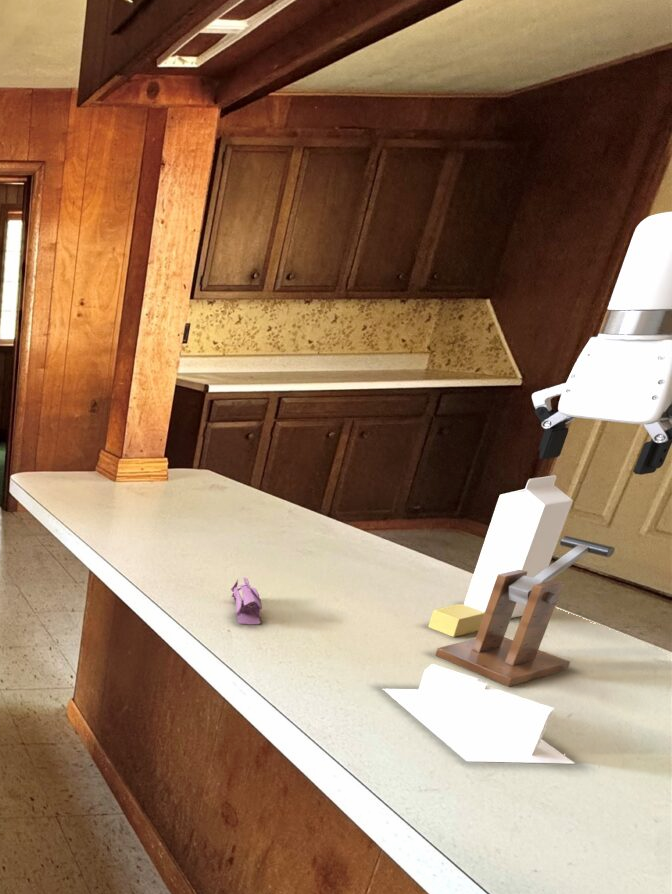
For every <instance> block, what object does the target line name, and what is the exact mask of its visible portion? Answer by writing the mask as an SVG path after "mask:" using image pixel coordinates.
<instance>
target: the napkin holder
mask: <svg viewBox="0 0 672 894" xmlns="http://www.w3.org/2000/svg"><path fill="white" fill-rule="evenodd" d="M382 690H383V691H384V692H385V693H386V694H387V695H389V696H390V698H392V699H393V700H394V701H396V702H397V703H398V704H399V705H400V706H401V707H403V708H404V709H405V710H406V711H407V712H408V713H410V714H411V715H412V716H413V717H414V718H415V719H417V720H418V721H419V722H420V723H421V724H422V725H424V727H426V728H427V729H428V730H430V731H431V732H432V733H433V734H434V735H435V736H436V737H438V738H439V739H440V740H441V741H442V742H443V743H445V744H446V745H447V746H448V747H449V748H450V749H452V750H453V751H454V752H455V753H456V754H458V755H459V756H460V757H461V758H462V760H464V761H466V762H478V763H479V762H484V763H490V762H491V763H527V764H528V763H529V764H531V763H532V764H533V763H534V764H573V765H574V764H576V762H574V761H573V760H571V759H570V758H569V757H567V756H566V753H564V754H563V753H561V752H560V751H559V750H557V749H556V748H554V747H553V746H552V745H551V744H549V743H547V741H545V740H543V736H544V734H545V732H546V728H547V727H548V724H549V722H550V719H551V717H552V715H553V713H554V710H555V707H552V706H550V705H547V704H543V703H541V702H537V701H534V700H531V699H528V698H526V697H522V696H520V695H516V694H513V693H510V692H508V691H504V690H501V689H498V688H495V687H492V686H489V685H488V683H486V682H483V681H479V678H477V677H474V676H471V675H468V674H465V673H462V672H459V671H456V670H453V669H451V668H447V667H444V666H440V665H438V664H435V663H431V664H430V665H429V666H427V667H426V668H425V669H424V670H423V674H422V677H421V680H420V684H419V687H418V688H382Z"/></svg>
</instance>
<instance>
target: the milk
mask: <svg viewBox="0 0 672 894" xmlns="http://www.w3.org/2000/svg"><path fill="white" fill-rule="evenodd" d="M556 481H557V475H555V474H553V475H548V476H542V477H533V478H528V480H527V482H526V485H525V488H523V489H519V490H515V491H510V492H506V493H502V494H499V497H498V499H497V502H496V505H495V508H494V511H493V514H492V517H491V521H490V523H489V527H488V528H487V529H488V530H487V533H486V535H485V538H484V542H483V544H482V548H481V551H480V554H479V557H478V560H477V563H476V565H475V569H474V572H473V575H472V578H471V580H470V584H469V587H468V590H467V594H466V597H465V600H464V602H463V605H466V606H469V607H472V608H474V609H477V610H480V611H483V612H485V610H486V607H487V604H488V601H489V598H490V596H491V593H492V590H493V587H494V584H495V581H496V578H497V575H498V574H501V573H506V572H510V571H515V570H523V571H527V575H526V576H528V577H531V578H534V577H535V576H536V575H538V574H539V573H540V572H542V571H543V570H545V569H546V568H547V567H549V566H550V565H551V564H550V563H551V560H552V558H553V555H554V553H555V550H556V548H557V545H558V542H559V539H560V537H561V534H562V532H563V529H564V526H565V523H566V521H567V518H568V515H569V512H570V510H571V507H572V505H573V502H574V500H573V499H572V498H571V497H569V495H567V494H566V493H565V492H563V491H562V490H561V489H560V488H559V487H558V486H556V485H555V483H556ZM525 607H526V605H524V604H521V603H518V602H516V605H515V608H514V611H513V613H512V616H511V619H514V618H518V617H522V615H523V612H524V609H525Z"/></svg>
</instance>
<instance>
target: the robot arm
mask: <svg viewBox="0 0 672 894" xmlns="http://www.w3.org/2000/svg"><path fill="white" fill-rule="evenodd" d="M558 396H560V397H559V401H558V406H557V410H558V411H557V410H555V408H554V407H553V406H552V402H551V401H552V399H553V398H555V397H558ZM531 400H532V404H533V407H534V408H535V409H534V414H535V415H536V417H537V418H538V420H539V421H540V422H541V427H542V428H543V429H544V431H543V434H542V438H541V441H540V443H539V446H538V451H539V455H538V459H540V460H547V459H548V460H549V459H554V458H555V459H556V458H559V457H560V456H561V453H562V450H563V448H564V445H565V442H566V440H567V437H568V433H569V427H566V425H567V424H569V423H571V422H572V421H574V420H576V419H577V418H578V419H585V420H595V421H603V422H614V423H621V424H622V423H623V424H630V425H631V424H633V425H642V426H643V428H645V430H646V432H647V434H649V436H650V437H651V440H649V441H646V442H644V443H643V445H642V448H641V451H640V453H639V454H638V458H637V461H636V462H635V465H634V468H633V470H632V473H633V474H635V475H639V476H640V475H641V476H643V475H647V474H653V473H655V472H656V471H657V469H660V468H662V466H663V465H664V464H665V460H666V459H667V456H668V454H669V451H670V448H671V446H672V211H665V212H660V213H655V214H652V215H649V216H647V217H646V218H644V219H643V220H642V221H640V222H639V224H638V225H636V227H635V230H634V232H633V235H632V237H631V240H630V243H629V246H628V249H627V252H626V254H625V257H624V260H623V263H622V266H621V268H620V272H619V274H618V277H617V280H616V282H615V286H614V288H613V292H612V294H611V297H610V300H609V303H608V306H607V309H606V310H605V314H604V317H603V319H602V323H601V326H600V328H599V330H598V334H597V336H591V337H590V338H589V340H588V342H587V343H586V345H585V346H584V348H583V349H582V351H581V352H580V354H579V355H578V357H577V360H576V361H575V363H574V365H573V367H572V370H571V372H570V373H569V376H568V378H567V380H566V382H564V383H560V384H557V385H554V386H550V387H547V388H544V389H542V390H538V391H535V392H533V393H532V394H531Z"/></svg>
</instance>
